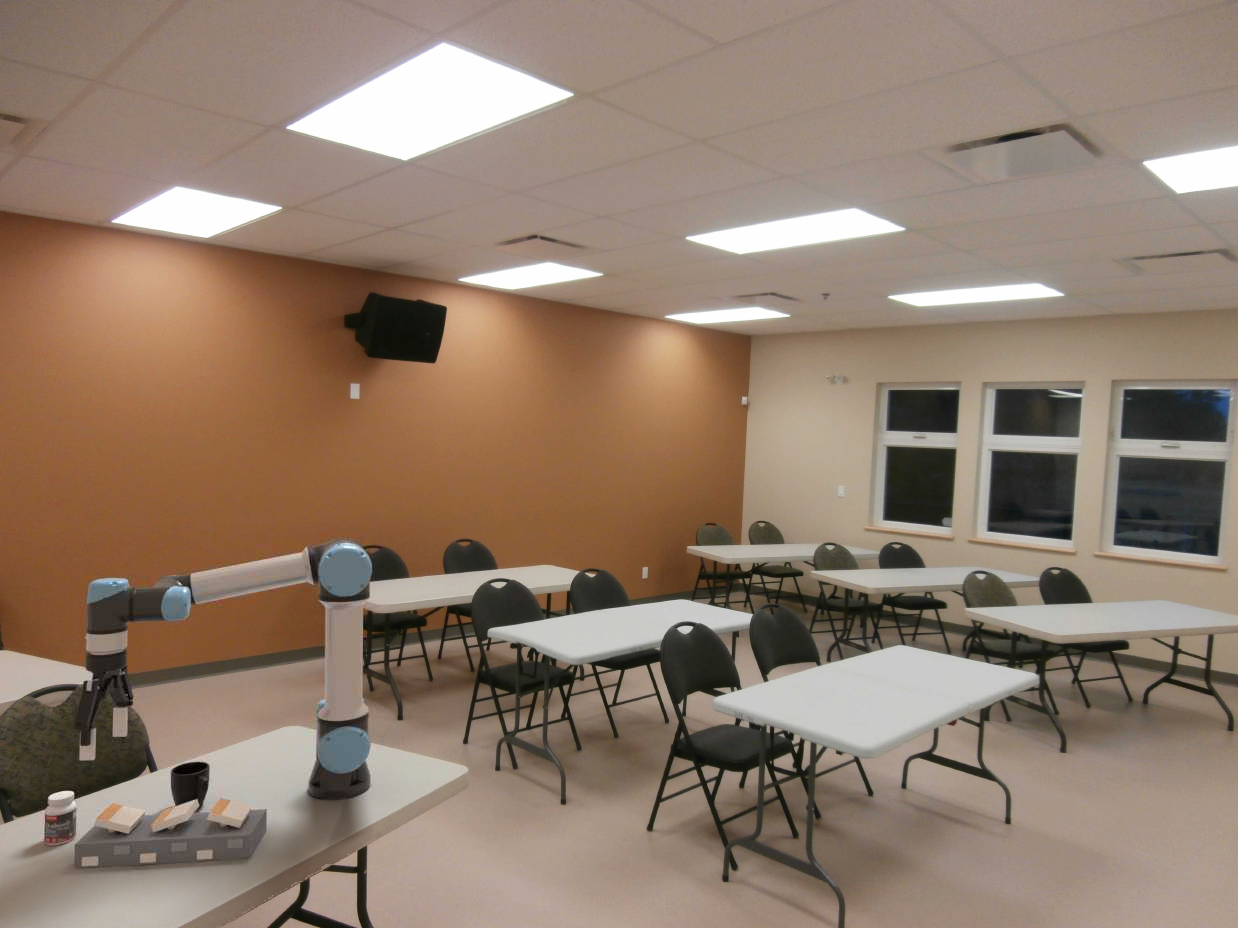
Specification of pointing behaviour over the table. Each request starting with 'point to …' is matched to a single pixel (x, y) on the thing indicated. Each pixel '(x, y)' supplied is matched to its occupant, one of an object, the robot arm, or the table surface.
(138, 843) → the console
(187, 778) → the mug
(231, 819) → the switch
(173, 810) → the switch
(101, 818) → the switch
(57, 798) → the pill bottle
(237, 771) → the table surface
